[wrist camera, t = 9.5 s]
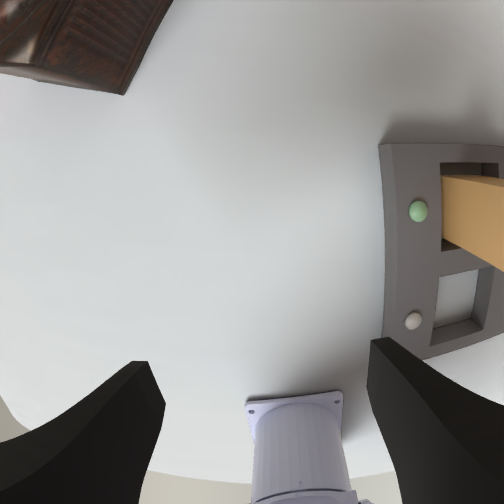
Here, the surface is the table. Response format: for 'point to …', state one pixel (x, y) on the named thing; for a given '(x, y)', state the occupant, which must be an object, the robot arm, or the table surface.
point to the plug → (474, 215)
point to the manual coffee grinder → (78, 40)
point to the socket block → (431, 250)
